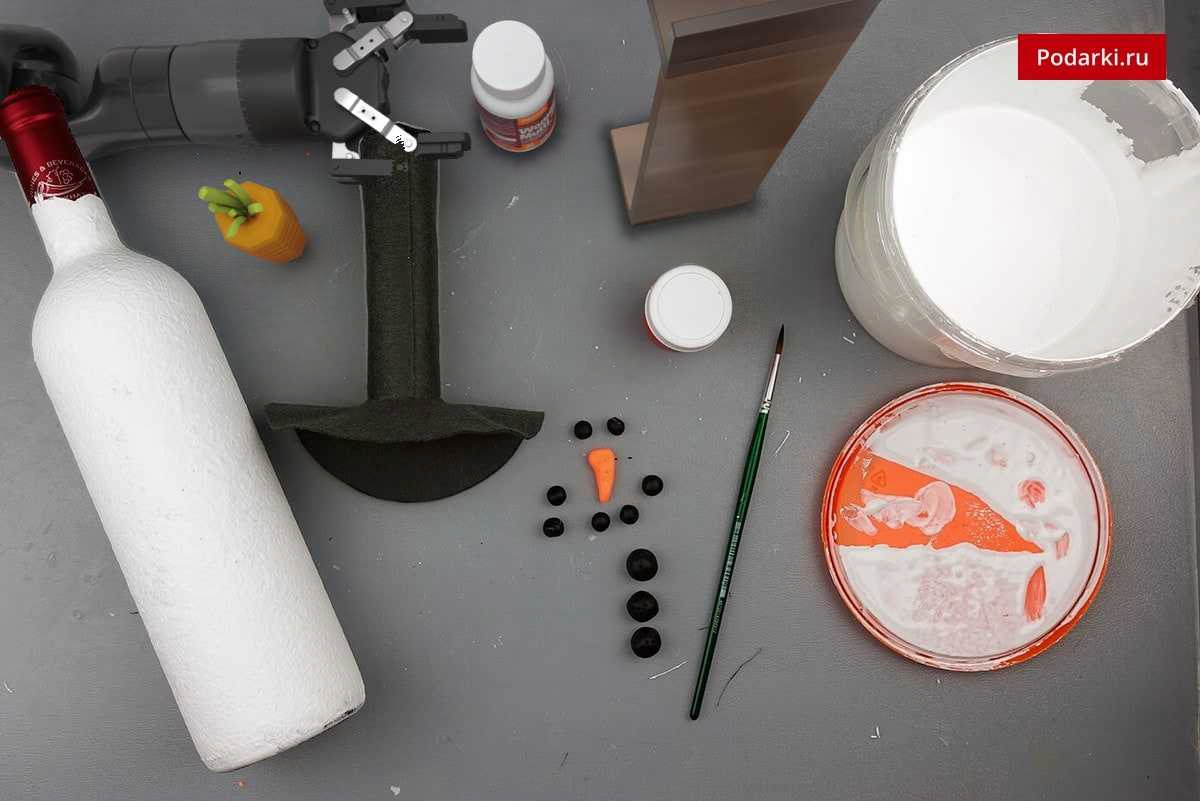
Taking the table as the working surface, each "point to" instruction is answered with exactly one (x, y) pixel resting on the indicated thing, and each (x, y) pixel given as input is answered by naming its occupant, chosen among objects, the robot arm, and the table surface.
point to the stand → (717, 133)
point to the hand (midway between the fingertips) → (468, 85)
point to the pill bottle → (513, 86)
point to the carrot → (256, 220)
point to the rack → (749, 30)
